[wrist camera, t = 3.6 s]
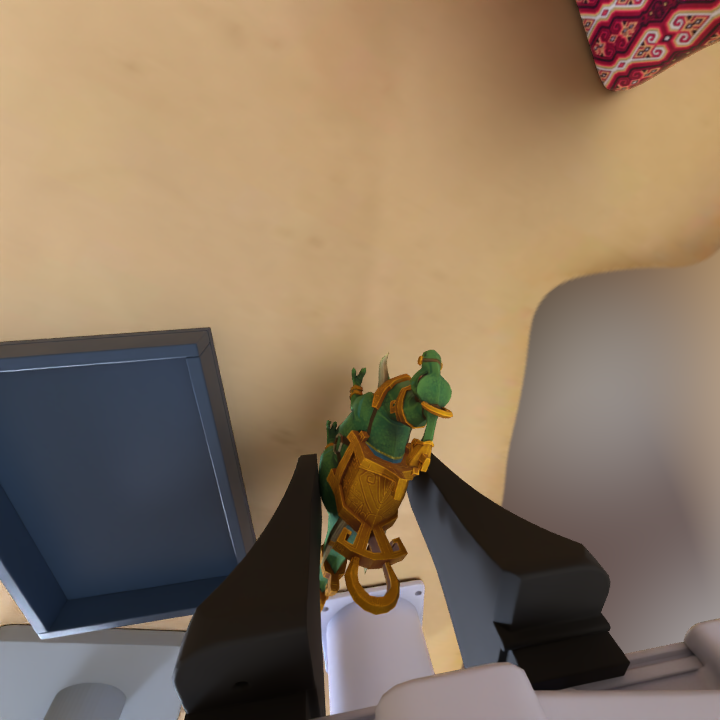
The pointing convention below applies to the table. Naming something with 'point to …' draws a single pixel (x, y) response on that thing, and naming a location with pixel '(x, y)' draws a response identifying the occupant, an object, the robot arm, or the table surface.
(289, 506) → the robot arm
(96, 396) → the tray
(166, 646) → the shower valve
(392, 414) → the figurine
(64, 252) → the table surface
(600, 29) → the handbag
